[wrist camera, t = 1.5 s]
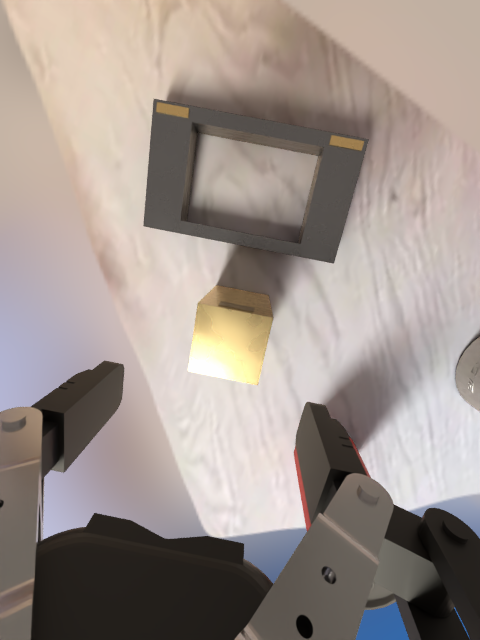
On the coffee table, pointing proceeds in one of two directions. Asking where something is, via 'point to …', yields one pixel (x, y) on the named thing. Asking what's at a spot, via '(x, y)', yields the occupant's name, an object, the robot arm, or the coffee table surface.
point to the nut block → (231, 334)
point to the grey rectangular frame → (187, 121)
